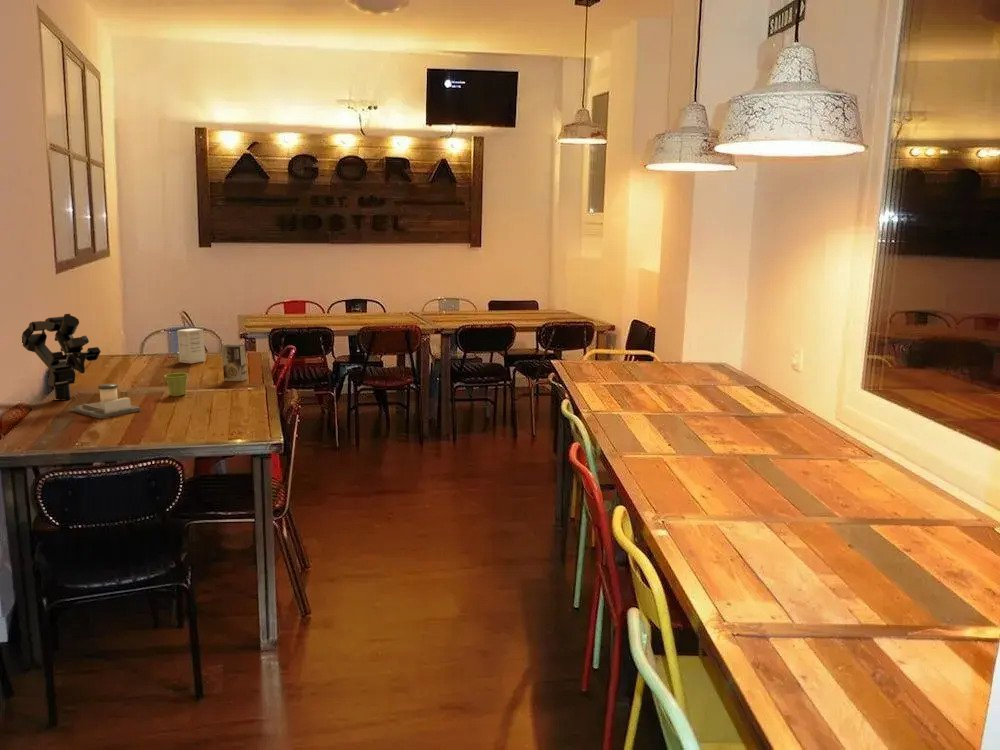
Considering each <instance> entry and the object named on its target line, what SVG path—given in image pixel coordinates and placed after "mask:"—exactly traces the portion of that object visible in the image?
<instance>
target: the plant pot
mask: <svg viewBox="0 0 1000 750" xmlns="http://www.w3.org/2000/svg"><path fill="white" fill-rule="evenodd" d="M188 376H189V374H188V373H187V372H176V373H168V374H164V378H165V381H166V382H167V383H166V384H167V387H168V391H169V396H170V397H181V396H186V394H187V379H188Z"/></svg>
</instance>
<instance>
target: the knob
mask: <svg viewBox="0 0 1000 750" xmlns="http://www.w3.org/2000/svg"><path fill="white" fill-rule="evenodd" d="M118 387H119V385H118V384H117V383H104V384H103V383H102V384H99V385H98V386H97V389H98V390H99V397H100V402H102V401H108V400H114V399H119V398H118Z"/></svg>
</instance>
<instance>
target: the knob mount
mask: <svg viewBox="0 0 1000 750" xmlns="http://www.w3.org/2000/svg"><path fill="white" fill-rule="evenodd" d="M71 410H73V411H76V412H75V413H77V412H79V413H78V414H80V413H82V414H81V415H84V414H85V415H84V416H87V415H89V416H88V417H90V416H92V417H91V418H94V417H96V418H95V419H97V418H99V419H98V420H101V419H100V418H103V419H106V418H105V417H108V418H111V417H110V416H113V417H116V416H115V415H119V416H122V415H121V414H124V415H127V414H126V413H129V414H132V413H131V412H134V413H138V412H137V411H139V412H141V407H140V406H136V405H133V404H131V398H130V397H121V398H118V399H114V400H108V401H102V402H101V401H98V402H92V403H91V402H90V403H81V405H80V404H79V405H74V406H70V411H71ZM73 411H72V412H73Z"/></svg>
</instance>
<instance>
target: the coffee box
mask: <svg viewBox="0 0 1000 750" xmlns="http://www.w3.org/2000/svg"><path fill="white" fill-rule="evenodd" d="M220 348H221V355H222V356H221V357H222V369H223V370H222V371H223V381H224V382H244V381H246V380H248V369H247V368H248V366H247V353H246V352H247V351H246V344H225V345H223V346H221V347H220Z"/></svg>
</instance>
